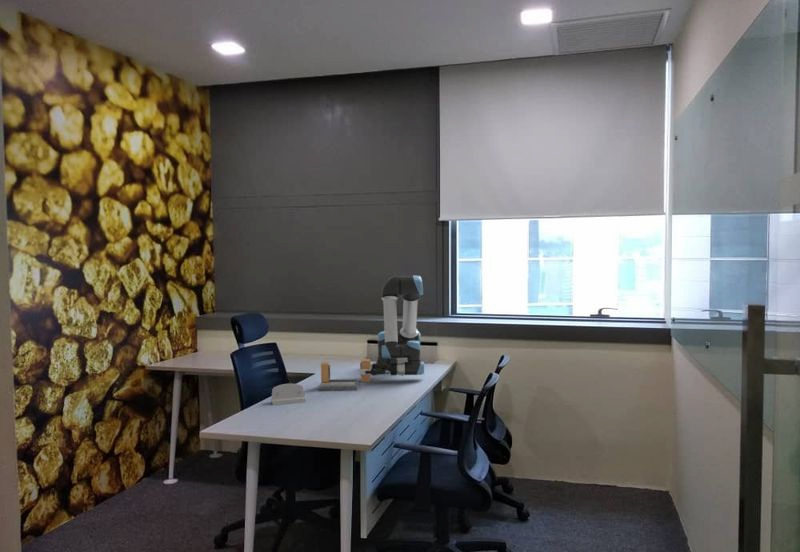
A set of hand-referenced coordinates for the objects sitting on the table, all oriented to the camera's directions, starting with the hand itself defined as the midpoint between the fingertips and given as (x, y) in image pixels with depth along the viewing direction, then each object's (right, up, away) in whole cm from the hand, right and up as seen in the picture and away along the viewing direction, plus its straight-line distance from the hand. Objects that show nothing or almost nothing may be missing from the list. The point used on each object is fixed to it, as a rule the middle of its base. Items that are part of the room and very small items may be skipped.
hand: (360, 369), depth 327 cm
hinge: (-33, -10, -41) cm, 53 cm away
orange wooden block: (+3, -7, 0) cm, 7 cm away
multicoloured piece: (-11, -8, -14) cm, 19 cm away
